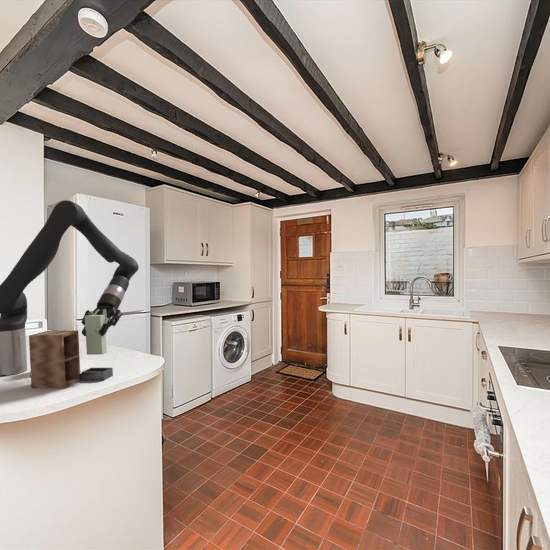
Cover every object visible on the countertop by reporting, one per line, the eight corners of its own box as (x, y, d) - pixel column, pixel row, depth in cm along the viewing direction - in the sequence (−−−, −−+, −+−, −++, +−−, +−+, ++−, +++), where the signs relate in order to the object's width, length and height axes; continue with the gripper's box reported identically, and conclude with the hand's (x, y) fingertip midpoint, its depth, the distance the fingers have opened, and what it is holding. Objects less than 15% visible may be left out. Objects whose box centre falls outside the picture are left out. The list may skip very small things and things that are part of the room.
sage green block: (84, 355, 110) (82, 316, 110) (91, 352, 114) (89, 315, 114) (100, 355, 110) (98, 316, 109) (106, 352, 113) (104, 314, 113)
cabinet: (31, 388, 104) (28, 335, 104) (50, 380, 112) (47, 330, 112) (64, 388, 103) (61, 335, 103) (80, 380, 111) (78, 330, 110)
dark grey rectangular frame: (79, 380, 110) (79, 372, 110) (89, 375, 115) (89, 367, 115) (103, 380, 109) (103, 372, 109) (112, 375, 114) (112, 367, 114)
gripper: (89, 293, 120) (67, 329, 108) (124, 291, 118) (105, 328, 107) (99, 304, 125) (79, 340, 114) (132, 303, 124) (116, 340, 112)
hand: (92, 334), depth 110 cm, fingers closed on sage green block, 6 cm apart
